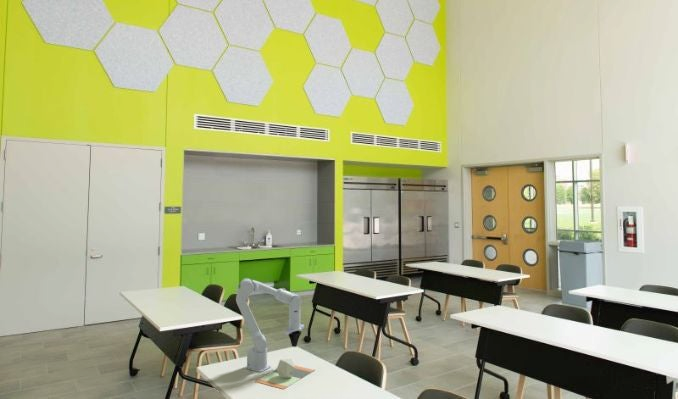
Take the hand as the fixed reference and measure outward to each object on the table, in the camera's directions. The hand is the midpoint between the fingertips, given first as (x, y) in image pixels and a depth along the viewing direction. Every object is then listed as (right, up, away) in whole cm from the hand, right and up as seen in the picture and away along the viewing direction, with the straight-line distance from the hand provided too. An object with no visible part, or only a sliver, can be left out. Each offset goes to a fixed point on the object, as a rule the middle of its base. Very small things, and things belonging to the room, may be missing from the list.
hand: (294, 346), depth 206 cm
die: (-2, -9, -16) cm, 18 cm away
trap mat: (-2, -9, -14) cm, 17 cm away
